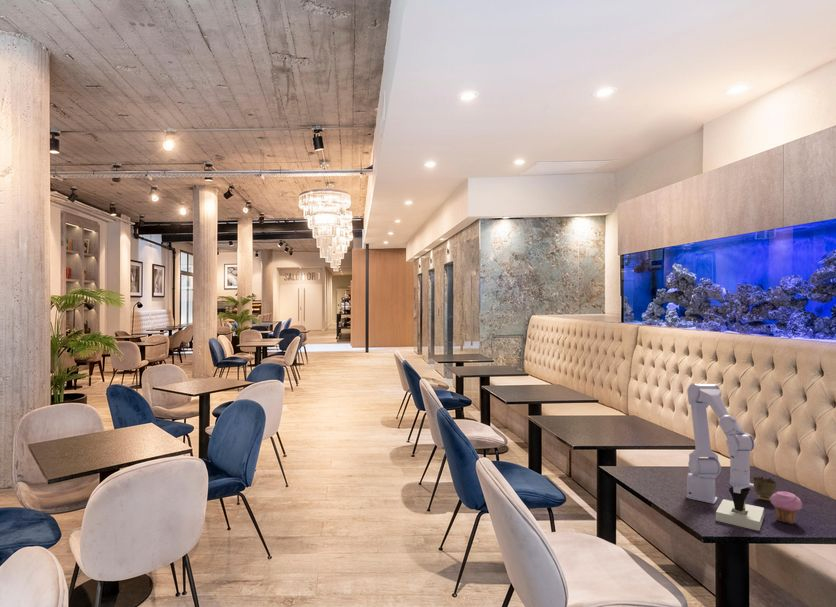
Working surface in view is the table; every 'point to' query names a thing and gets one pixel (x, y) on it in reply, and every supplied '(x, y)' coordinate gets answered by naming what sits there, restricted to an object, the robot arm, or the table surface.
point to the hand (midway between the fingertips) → (739, 508)
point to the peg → (741, 511)
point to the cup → (764, 487)
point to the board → (740, 515)
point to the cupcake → (786, 506)
